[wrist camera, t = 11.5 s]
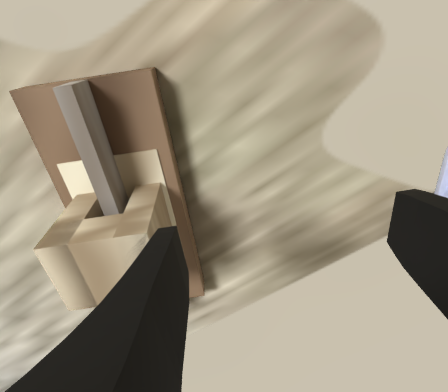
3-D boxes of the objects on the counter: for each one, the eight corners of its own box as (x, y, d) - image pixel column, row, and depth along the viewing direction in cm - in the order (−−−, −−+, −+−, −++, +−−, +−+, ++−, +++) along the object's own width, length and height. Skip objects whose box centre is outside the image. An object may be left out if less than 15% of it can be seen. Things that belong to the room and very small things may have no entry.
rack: (154, 67, 15) (143, 74, 12) (204, 280, 23) (204, 319, 20) (25, 86, 15) (-20, 98, 12) (118, 293, 23) (106, 334, 20)
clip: (160, 182, 17) (146, 232, 12) (174, 236, 19) (167, 296, 14) (76, 194, 17) (32, 249, 12) (99, 247, 19) (69, 310, 14)
